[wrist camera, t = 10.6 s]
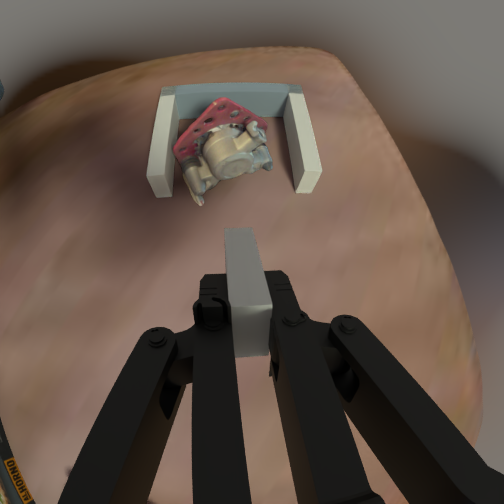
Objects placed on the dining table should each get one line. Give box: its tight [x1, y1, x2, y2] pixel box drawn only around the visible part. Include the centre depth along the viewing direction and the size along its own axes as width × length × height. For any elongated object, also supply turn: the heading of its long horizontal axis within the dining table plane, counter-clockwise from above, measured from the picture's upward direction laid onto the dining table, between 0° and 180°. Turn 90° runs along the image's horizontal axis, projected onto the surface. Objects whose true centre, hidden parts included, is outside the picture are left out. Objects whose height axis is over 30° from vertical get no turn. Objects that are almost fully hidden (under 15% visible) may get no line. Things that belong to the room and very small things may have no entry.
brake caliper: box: [173, 97, 273, 206], centre depth 31 cm, size 11×11×12 cm
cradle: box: [146, 83, 322, 198], centre depth 34 cm, size 15×19×5 cm
